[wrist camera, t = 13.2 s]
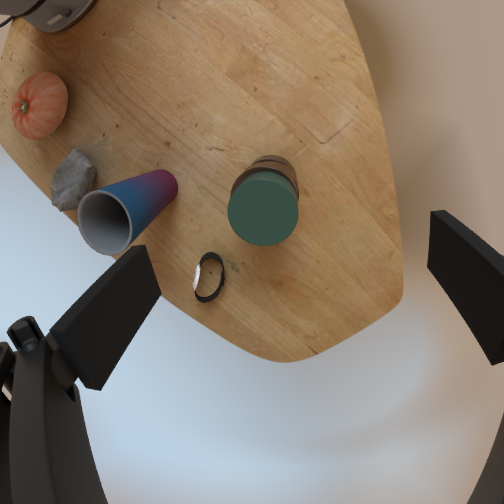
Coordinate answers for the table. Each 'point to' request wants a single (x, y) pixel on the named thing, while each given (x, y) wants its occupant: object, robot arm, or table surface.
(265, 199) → the green cylinder
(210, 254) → the watch
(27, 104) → the tomato
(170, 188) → the cup
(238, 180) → the brown jar
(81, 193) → the fossil
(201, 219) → the table surface
